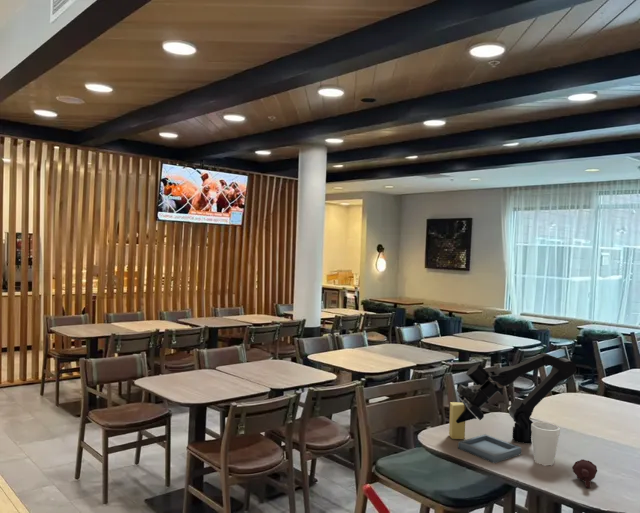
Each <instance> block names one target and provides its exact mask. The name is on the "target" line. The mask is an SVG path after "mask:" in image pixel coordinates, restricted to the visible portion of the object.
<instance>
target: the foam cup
mask: <svg viewBox="0 0 640 513" xmlns="http://www.w3.org/2000/svg"><path fill="white" fill-rule="evenodd" d="M532 422H533V423H532V424H531V431H532V436H531V441H532V450H533V458H534V460H535V461H534V462H535V463H536V462H537V463H536V464H538V463H539V464H538V465H540V464H542V465H541V466H545V465H551V466H554V463H555V458H556V454H557V449H558V443H559V438H560V435H561V428H560V426H558V425H557V424H554V423H551V422H547V421H532Z"/></svg>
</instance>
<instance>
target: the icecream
mask: <svg viewBox="0 0 640 513" xmlns="http://www.w3.org/2000/svg"><path fill="white" fill-rule="evenodd" d="M571 469H572V472H573V473H574V475H575V476H576V478H577V479H578V480H581V481H582V482H584V485H585V488H587V489H590V488H591V484H592V483H591V481H593V480H594V479H595V478H596V475H597V472H598V468H597V465H596V464H594V463H593V462H592V461H590V460H586V459H580V460H577V461H575V462H574V464H573V465H572V468H571Z"/></svg>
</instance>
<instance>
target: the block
mask: <svg viewBox="0 0 640 513" xmlns="http://www.w3.org/2000/svg"><path fill="white" fill-rule="evenodd" d="M464 406H465V405H464V404H463V403H461V402H458V401H457V402H456V401H452V402H451V401H450V402H449V428H448V435H449V436H450V438H451V440H452V439H453V440H466V439H465V438H466V437H465V436H466V434H465V433H466V421H464V422H461V423H457V422H456V420H457V419H458V417H459V416H460V415H461V414H462V413H463V412H464Z"/></svg>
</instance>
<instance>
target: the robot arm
mask: <svg viewBox="0 0 640 513" xmlns="http://www.w3.org/2000/svg"><path fill="white" fill-rule="evenodd" d="M544 366H551V370H550V372H549V374H548V375H547V376H545V378H544V379H543V380H542V381H541V382H540V383H539V384H537V386H536V387H535V388H534V389H533V390H532V391H530V392H529V393H528V395H527V396H526V397H525V398H524V399H521V400H520V398H516V399H515V400H514V401H513V403H510V404H509V406H510V407H509V409H508V414H509V416H510V417H511V418H512V420H513V422H514V426H512V439H513V442H514V443H521V444H527V445H528V444H529V445H533V440H532V431H531V424H532V423H533V422H534V421H532V419H530V418H531V417H532V414H533V412H534V410H535V407H536V406H538V405H539V404H540V402H541V401H542V400H543V399H544V398H546V397H547V395H548V394H550V393H551V391H553V389H554V388H555V387H557V385H559V384H560V382H563V381H565V380H569V378H571V377H572V376H574V375H575V374H576V373H577V365H576V363H575V362H573V360H569V359H568V358H565V357H560V358H559V357H556V356H553V355H550V354H549V353H546V352H541V353H539V354H538V355H536V356H534V357H530V358H528V359H527V360H524V361H522V362H519V363H517V364H515V365H510V366H503V367H499V368H496V369H495V370H491V371H486V369H485V368H484V366H482V364H481V363H477V364H476V365H473V366H471V367H469V369H468V370H467V371H466V374H465V375H466V376H467V377H468V378H469V379H470V380H471V382H472V383H473V384H475V385H476V386H479V387H478V388H473V389H472V388H471V387H469V386H468V387H466V386H465V385H463V384H461V383H460V384H459V386H458V388H457V390H456V393H457V394H458V397H459V399H458V401H459V402H461V403H463V404H464V405H465V406H464V412H463V413H462V414H461V415H460V416H459V417H458V419H457V420H456V422H457V423H461V422H464V421H465V422H466V421H470V420H476V419H477V420H479V421H481V420H482V419H484V416H485V414H484V413H483V411H482V409H481V408H482V407H483V406H484V404H488V403H489V400H490V399H491V398H492V397H494V395H496V394H497V393H498V394H500V395H501V396H502V395H503V394H504V387H506V386H509V385H510V384H512V383H514V382H515V381H516V380H517V379H518V378H519V377H520V376H523V375H526V374H528V373H530V372H533V371H534V370H537V369H540V368H542V367H544ZM499 385H500V386H499Z"/></svg>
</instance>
